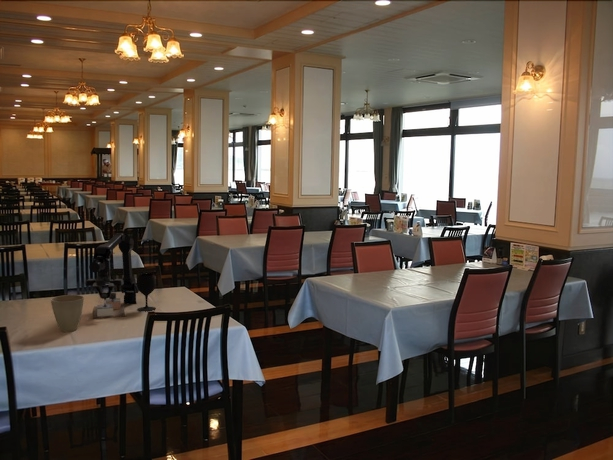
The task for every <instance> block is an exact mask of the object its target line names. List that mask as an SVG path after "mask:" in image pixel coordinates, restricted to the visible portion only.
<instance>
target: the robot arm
mask: <svg viewBox="0 0 613 460" xmlns="http://www.w3.org/2000/svg"><path fill="white" fill-rule="evenodd" d="M134 244H135V241H134V238H132V237H130V236H127V235H125V234H124V233H114V235H113V236H112V237H111V238H110V239H109V240H108V241H107V242H105V243H103V244H100V245H98V246H97V247H96V248H95V252H94V255H93V257H92V262H90V263H89V266H88V268H89V270H90V272H91V273H93V274H94V273H97V277H96V278H89V279H86V280H85V286H86V287H87V286H89V287H90V286H92V287H93V288H95V289H96V290H97V292H98V295H99V298H100V299H102V298H101V293H102V292H103V288H102V287H104V286H106V285H108V286H107V292H108V298H107V299H109V297H110V295H111V293H113V292H112V291H113V290H114V288H115V287H119V286H120V290H121V294H123V303H124V305H131V304H132V305H133V304H137V294H139V293H140V291H139V290H138V288H137V280H136V279H135V278H134V276H133V265H132V250H133V249H134ZM117 246H118V250H120V252H121V257H122V270H123V271H122V272H123V277H122V278H115V279H114V280H111V279H112V278H111V260H112V258H111V256H112V255H113V253H114V252H113V251H114V250H115V248H116V247H117Z"/></svg>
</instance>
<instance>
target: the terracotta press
mask: <svg viewBox="0 0 613 460" xmlns="http://www.w3.org/2000/svg"><path fill="white" fill-rule="evenodd" d="M106 304H113V309H120V305H121V298H119V297H118V298H117V297H116V299H114V300H113V301H112V299H109V298H107V299H106Z"/></svg>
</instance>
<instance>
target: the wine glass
mask: <svg viewBox="0 0 613 460" xmlns="http://www.w3.org/2000/svg"><path fill="white" fill-rule="evenodd" d="M155 276H156V275H155V274H154V273H149V272H148V273H144V272H143V273H140V274H138V275H137V277H136V285H137V288H138V290H139V293H141V294H142V295H144V297H145V306H141V307H138V308H137V309H136V311H138V312H141V311H145V313H147V312H148V311H149V312H153V311H152V310H154V311H156V310H157V307H155V306H149V304H148V297H149V295H150V294H151V293H153V292H154V290H156V289H155V288H156V285H157V284H156V283H157V282H156V281H157V280H156V277H155ZM155 309H156V310H155ZM146 311H147V312H146Z"/></svg>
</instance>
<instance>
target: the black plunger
mask: <svg viewBox="0 0 613 460" xmlns="http://www.w3.org/2000/svg"><path fill="white" fill-rule="evenodd" d="M100 299H102V300H103V305H104V307H106V299H109V298H108V291H102V293H101V298H100Z"/></svg>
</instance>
